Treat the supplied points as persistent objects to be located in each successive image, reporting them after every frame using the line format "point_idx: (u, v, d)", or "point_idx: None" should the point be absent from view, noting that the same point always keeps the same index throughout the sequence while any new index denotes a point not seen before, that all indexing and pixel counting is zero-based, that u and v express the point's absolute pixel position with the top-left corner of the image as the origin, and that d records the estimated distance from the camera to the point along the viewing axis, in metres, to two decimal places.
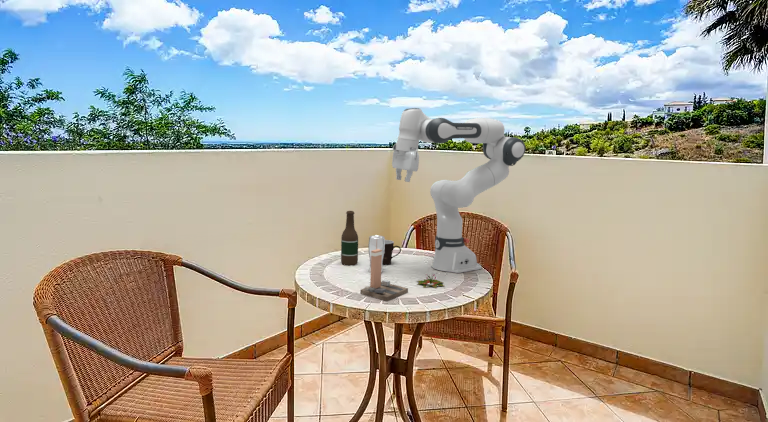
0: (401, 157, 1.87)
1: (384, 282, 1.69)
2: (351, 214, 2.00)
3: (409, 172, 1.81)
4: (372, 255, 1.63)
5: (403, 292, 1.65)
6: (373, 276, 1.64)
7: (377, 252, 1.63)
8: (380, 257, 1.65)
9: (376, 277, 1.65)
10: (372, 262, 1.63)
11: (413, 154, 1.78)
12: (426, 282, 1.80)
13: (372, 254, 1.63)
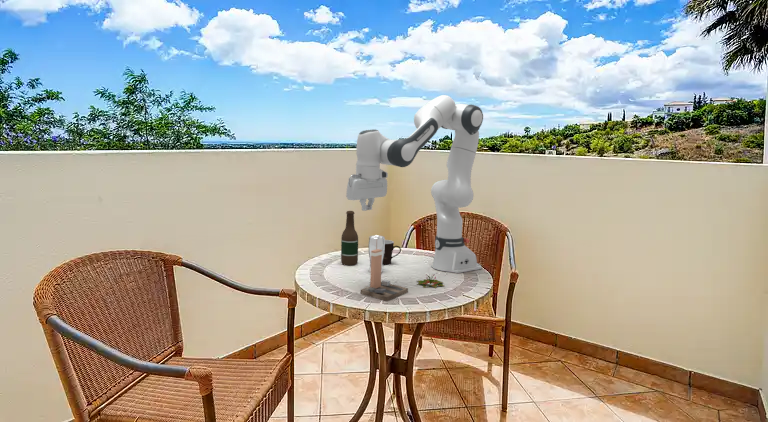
0: None
1: (384, 282, 1.69)
2: (351, 214, 2.00)
3: (361, 200, 1.68)
4: (372, 255, 1.63)
5: (403, 292, 1.65)
6: (373, 276, 1.64)
7: (377, 252, 1.63)
8: (380, 257, 1.65)
9: (376, 277, 1.65)
10: (372, 262, 1.63)
11: None
12: (426, 282, 1.80)
13: (372, 254, 1.63)
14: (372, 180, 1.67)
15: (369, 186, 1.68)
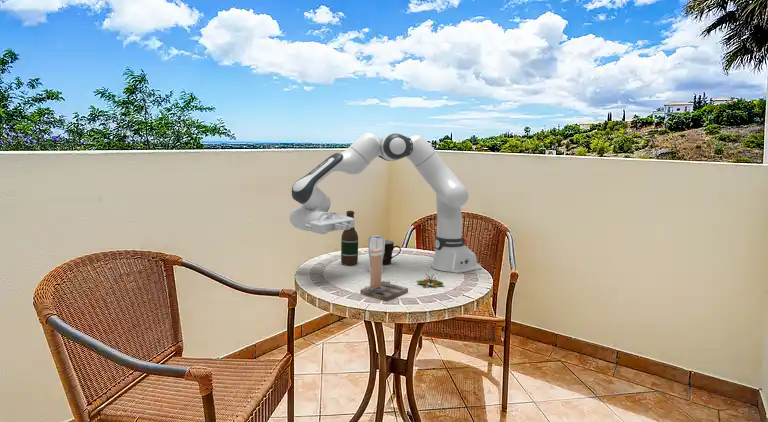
0: None
1: (384, 282, 1.69)
2: (351, 214, 2.00)
3: (335, 227, 1.72)
4: (372, 255, 1.63)
5: (403, 292, 1.65)
6: (373, 276, 1.64)
7: (377, 252, 1.63)
8: (380, 257, 1.65)
9: (376, 277, 1.65)
10: (372, 262, 1.63)
11: (309, 228, 1.71)
12: (426, 282, 1.80)
13: (372, 254, 1.63)
14: (324, 216, 1.77)
15: (329, 220, 1.76)
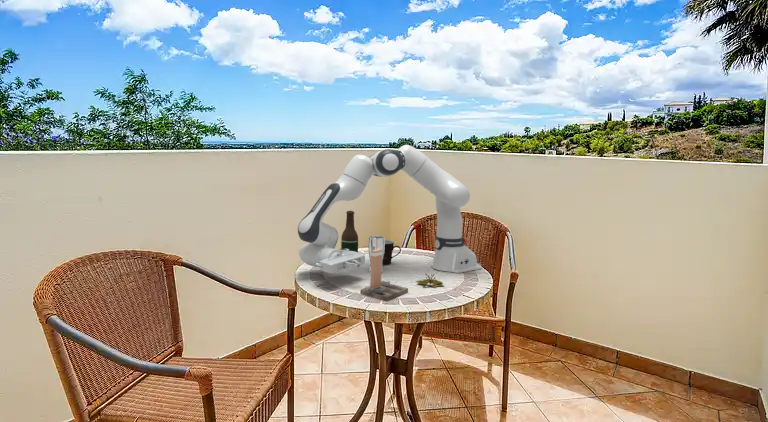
0: None
1: (384, 282, 1.69)
2: (351, 214, 2.00)
3: (346, 266, 1.71)
4: (372, 255, 1.63)
5: (403, 292, 1.65)
6: (373, 276, 1.64)
7: (377, 252, 1.63)
8: (380, 257, 1.65)
9: (376, 277, 1.65)
10: (372, 262, 1.63)
11: (320, 267, 1.70)
12: (426, 282, 1.79)
13: (372, 254, 1.63)
14: (334, 253, 1.76)
15: (339, 258, 1.75)
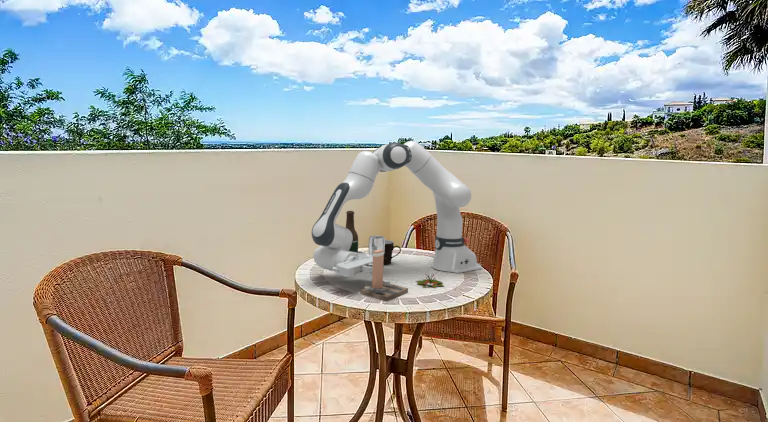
0: None
1: (384, 282, 1.69)
2: (351, 214, 2.00)
3: (363, 270, 1.66)
4: (374, 256, 1.63)
5: (403, 292, 1.65)
6: (375, 276, 1.63)
7: (379, 252, 1.63)
8: (382, 257, 1.65)
9: (378, 278, 1.64)
10: (374, 262, 1.63)
11: (336, 271, 1.65)
12: (425, 282, 1.79)
13: (374, 254, 1.62)
14: (351, 256, 1.71)
15: (355, 261, 1.70)
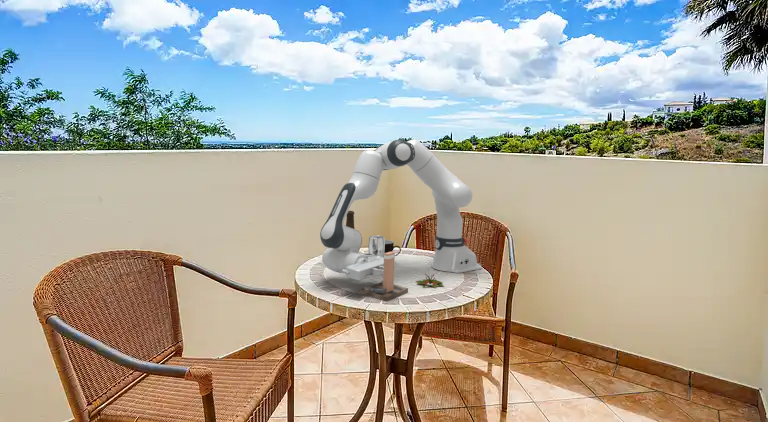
0: None
1: None
2: (351, 214, 2.00)
3: (373, 272, 1.63)
4: (385, 258, 1.60)
5: (403, 292, 1.65)
6: (386, 279, 1.60)
7: (390, 255, 1.60)
8: (393, 260, 1.62)
9: (389, 281, 1.61)
10: (385, 265, 1.60)
11: (346, 274, 1.62)
12: (425, 282, 1.79)
13: (385, 257, 1.59)
14: (360, 259, 1.68)
15: (366, 264, 1.67)
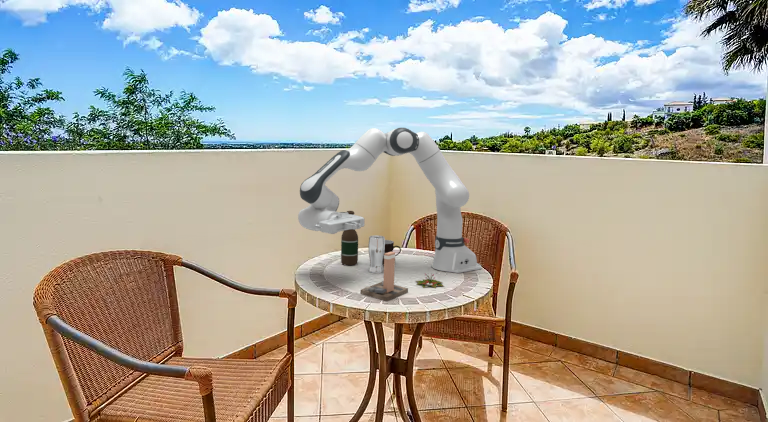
0: None
1: None
2: None
3: (345, 227, 1.69)
4: (385, 258, 1.60)
5: (403, 292, 1.65)
6: (386, 279, 1.60)
7: (390, 255, 1.60)
8: (393, 260, 1.62)
9: (390, 281, 1.61)
10: (385, 265, 1.60)
11: (319, 228, 1.68)
12: (425, 282, 1.79)
13: (385, 257, 1.59)
14: (334, 215, 1.74)
15: (338, 220, 1.73)
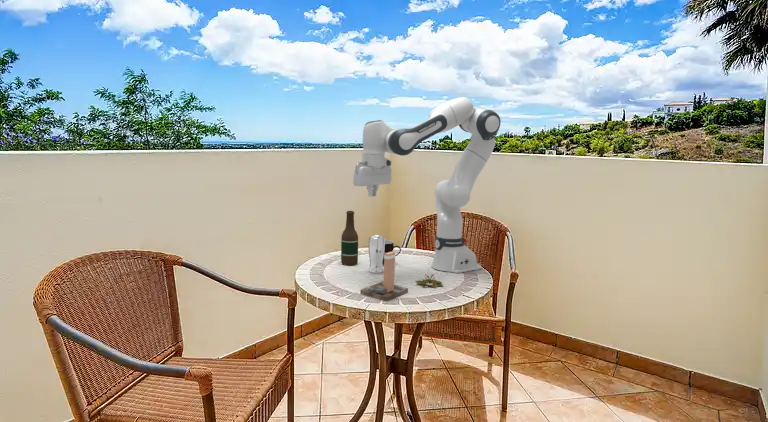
0: None
1: None
2: (351, 214, 2.00)
3: (367, 186, 1.79)
4: (385, 258, 1.60)
5: (403, 292, 1.65)
6: (386, 279, 1.60)
7: (390, 255, 1.60)
8: (393, 260, 1.62)
9: (390, 281, 1.61)
10: (385, 265, 1.60)
11: None
12: (425, 282, 1.79)
13: (385, 257, 1.59)
14: (377, 168, 1.78)
15: (374, 173, 1.79)
